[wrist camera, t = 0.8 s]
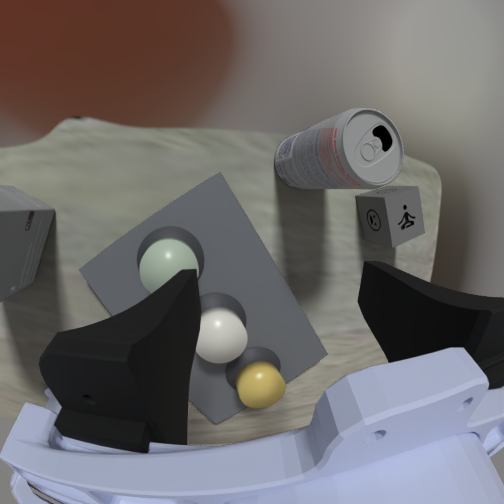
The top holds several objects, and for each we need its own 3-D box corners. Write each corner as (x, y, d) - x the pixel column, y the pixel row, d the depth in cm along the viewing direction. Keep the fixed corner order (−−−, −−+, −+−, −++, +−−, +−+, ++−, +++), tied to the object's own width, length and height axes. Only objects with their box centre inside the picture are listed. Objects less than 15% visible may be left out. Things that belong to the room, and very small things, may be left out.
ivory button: (210, 359, 25) (213, 371, 23) (181, 324, 23) (182, 335, 21) (251, 334, 25) (257, 344, 23) (224, 296, 24) (229, 305, 22)
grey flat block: (213, 413, 30) (216, 425, 28) (85, 264, 24) (78, 270, 22) (320, 346, 32) (328, 355, 30) (217, 173, 25) (220, 171, 23)
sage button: (163, 301, 23) (162, 310, 21) (132, 257, 21) (127, 263, 19) (207, 272, 23) (210, 279, 21) (177, 226, 22) (177, 229, 20)
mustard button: (250, 402, 27) (254, 414, 25) (226, 377, 25) (230, 389, 24) (286, 380, 27) (293, 391, 25) (265, 353, 26) (271, 364, 24)
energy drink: (333, 168, 28) (416, 159, 16) (296, 200, 28) (372, 207, 16) (302, 125, 26) (376, 91, 15) (262, 156, 26) (322, 132, 15)
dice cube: (363, 239, 30) (392, 247, 26) (355, 195, 29) (384, 197, 24) (395, 227, 31) (424, 232, 26) (388, 185, 30) (418, 186, 25)
